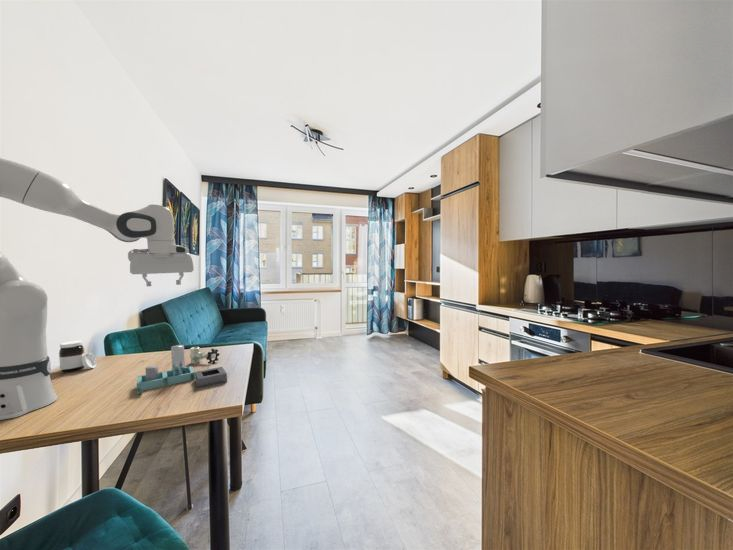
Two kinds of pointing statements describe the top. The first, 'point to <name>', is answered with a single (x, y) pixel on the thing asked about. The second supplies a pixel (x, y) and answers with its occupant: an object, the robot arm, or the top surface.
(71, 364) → the spread jar
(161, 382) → the rack
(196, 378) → the socket block
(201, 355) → the valve
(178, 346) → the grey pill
